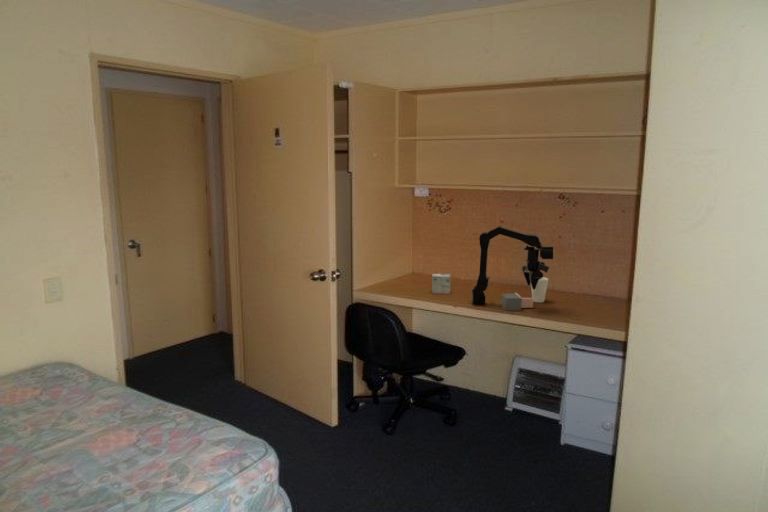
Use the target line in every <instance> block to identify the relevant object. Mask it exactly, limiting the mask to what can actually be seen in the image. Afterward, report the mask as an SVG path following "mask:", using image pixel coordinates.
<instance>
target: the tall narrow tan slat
mask: <svg viewBox="0 0 768 512" xmlns="http://www.w3.org/2000/svg"><path fill="white" fill-rule="evenodd" d="M523 308H524V309H525V308H527V309H529V308H531V309H532V308H534V301H533V298H532V297H522V298H521V309H523Z"/></svg>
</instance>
